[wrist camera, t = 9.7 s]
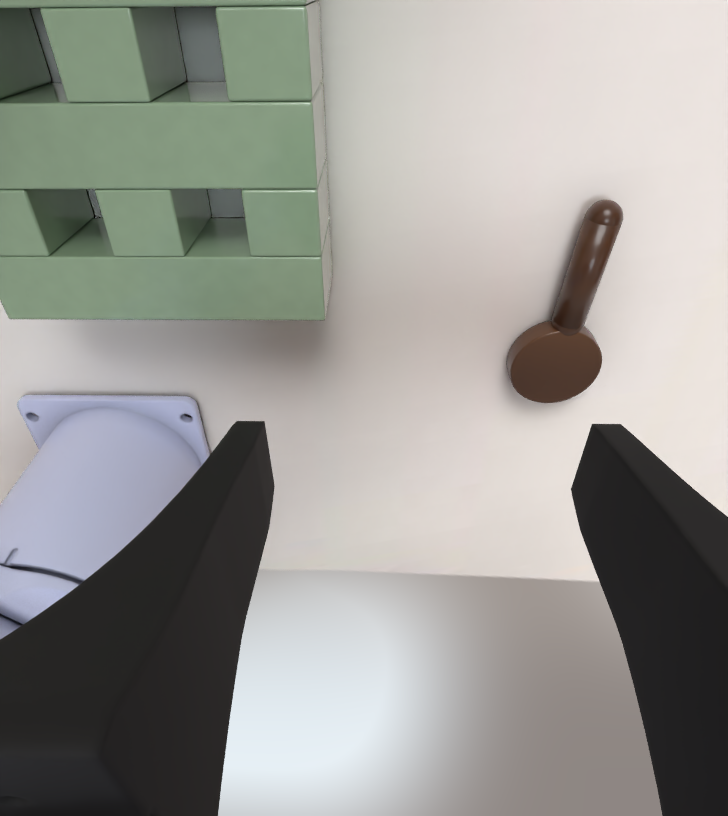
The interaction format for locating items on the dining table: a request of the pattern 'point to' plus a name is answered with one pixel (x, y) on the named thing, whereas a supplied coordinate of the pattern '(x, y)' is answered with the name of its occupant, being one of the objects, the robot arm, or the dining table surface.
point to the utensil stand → (162, 164)
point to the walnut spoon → (568, 319)
